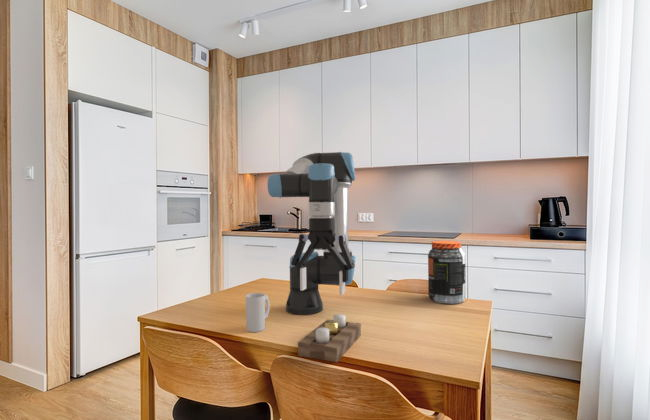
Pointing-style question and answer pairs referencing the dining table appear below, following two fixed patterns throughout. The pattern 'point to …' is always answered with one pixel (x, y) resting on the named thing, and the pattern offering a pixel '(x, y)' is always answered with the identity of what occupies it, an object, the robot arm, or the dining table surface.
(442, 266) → the supplement tub
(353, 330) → the socket block
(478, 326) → the dining table surface
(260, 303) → the mug
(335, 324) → the plug brass
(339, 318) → the grey plug
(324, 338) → the grey plug
